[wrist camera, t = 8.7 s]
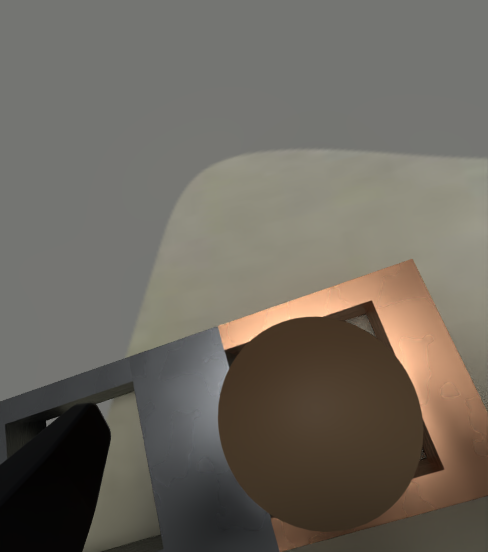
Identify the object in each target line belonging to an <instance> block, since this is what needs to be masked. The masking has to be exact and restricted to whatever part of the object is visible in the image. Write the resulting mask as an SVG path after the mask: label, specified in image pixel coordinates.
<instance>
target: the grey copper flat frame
mask: <svg viewBox="0 0 488 552" xmlns="http://www.w3.org/2000/svg"><path fill="white" fill-rule="evenodd" d="M363 314H367V316H368V318H369V321H370V323H371V325H372V328H373V330H374V333H375V335H376V337H377V339H378V340H380V341H381V342H382V343H383V344H384V345H385V346H386V347H387V348H389V349H390V350H391V352H392V353H393V354H394V355H395V356H396V357H397V358H398V360H399V361H400V362H401V364H402V365H403V367H404V368H405V370H406V371H407V373H408V375H409V377H410V379H411V381H412V383H413V385H414V387H415V390H416V393H417V396H418V398H419V403H420V407H421V411H422V419H423V445H422V447H423V449H424V452H425V454H426V456H427V458H426V459H422V460H419V463H418V466H417V469H416V472H415V474H414V476H413V478H412V480H411V482H410V484H409V486H408V487H407V489H406V490H405V492H404V493H403V495H402V496H401V497H400V499H399V500H398V501H397V502H396V503H395V504H394V505H393V506H392V507H391V508H390V509H389V510H387V511H386V512H385V513H383V514H382V515H381V516H379V517H378V518H376V519H374V520H372V521H370V522H369V523H367V524H364V525H361V526H359V527H356V528H353V529H348V530H343V531H334V532H320V531H311V530H306V529H302V528H299V527H295V526H293V525H290V524H288V523H285V522H283V521H281V520H279V519H277V518H276V517H274V516H272V515H271V514H269V513H268V512H266V511H265V510H264V509H262V508H261V507H260V506H259V505H257V504H256V503H255V502H254V501H253V500H252V499H251V498H250V497H249V496H248V495H247V494H246V492H245V491H244V490H243V488H242V487H241V486H240V485H239V483H238V482H237V480H236V478H235V477H234V475H233V473H232V472H231V470H230V467H229V465H228V463H227V461H226V459H225V456H224V452H223V449H222V446H221V441H220V436H219V430H218V404H219V398H220V392H221V389H222V385H223V382H224V379H225V377H226V374H227V372H228V370H229V368H230V366H231V364H232V363H233V361H234V359H235V358H236V356H237V355H238V354H239V353H240V351H241V350H242V349H243V348H244V347H245V346H246V345H247V344H248V343H249V342H250V341H251V340H252V339H253V338H254V337H256V336H257V335H258V334H259V333H261V332H262V331H264V330H266V329H268V328H269V327H271V326H273V325H276V324H278V323H280V322H283V321H287V320H290V319H294V318H301V317H327V318H333V319H337V320H341V321H345V320H348V319H351V318H354V317H357V316H360V315H363ZM133 391H135V395H136V401H137V406H138V412H139V417H140V423H141V428H142V433H143V439H144V444H145V450H146V455H147V461H148V466H149V471H150V477H151V482H152V488H153V493H154V499H155V504H156V509H157V515H158V520H159V526H160V531H161V535H158V536H154V537H151V538H147V539H144V540H140V541H137V542H133V543H130V544H127V545H123V546H120V547H116V548H113V549H109V550H106V551H102V552H283V551H286V550H290V549H294V548H297V547H301V546H305V545H308V544H312V543H316V542H319V541H323V540H327V539H330V538H334V537H338V536H341V535H345V534H349V533H352V532H356V531H360V530H364V529H367V528H371V527H375V526H378V525H382V524H386V523H389V522H393V521H397V520H400V519H404V518H408V517H411V516H415V515H419V514H422V513H426V512H430V511H434V510H437V509H441V508H445V507H448V506H452V505H456V504H459V503H463V502H467V501H470V500H474V499H478V498H481V497H485V496H488V412H487V410H486V408H485V406H484V404H483V402H482V400H481V398H480V396H479V394H478V392H477V390H476V388H475V386H474V384H473V382H472V379H471V377H470V375H469V373H468V371H467V369H466V367H465V365H464V363H463V361H462V359H461V357H460V355H459V353H458V351H457V349H456V347H455V345H454V343H453V341H452V339H451V337H450V335H449V332H448V330H447V328H446V326H445V324H444V322H443V320H442V318H441V316H440V314H439V312H438V310H437V308H436V306H435V304H434V302H433V300H432V298H431V296H430V294H429V292H428V290H427V288H426V285H425V283H424V281H423V279H422V277H421V275H420V273H419V271H418V269H417V267H416V265H415V263H414V261H413V259H410V260H408V261H405V262H402V263H399V264H396V265H393V266H390V267H387V268H385V269H382V270H379V271H376V272H373V273H370V274H367V275H364V276H361V277H359V278H356V279H353V280H350V281H347V282H344V283H341V284H338V285H335V286H333V287H330V288H327V289H324V290H321V291H318V292H315V293H312V294H309V295H307V296H304V297H301V298H298V299H295V300H292V301H289V302H286V303H283V304H281V305H278V306H275V307H272V308H269V309H266V310H263V311H260V312H257V313H255V314H252V315H249V316H246V317H243V318H240V319H237V320H234V321H231V322H229V323H226V324H223V325H220V326H217V327H214V328H211V329H208V330H205V331H203V332H200V333H197V334H194V335H191V336H188V337H185V338H182V339H179V340H177V341H174V342H171V343H168V344H165V345H162V346H159V347H156V348H154V349H151V350H148V351H145V352H142V353H139V354H136V355H133V356H130V357H128V358H125V359H122V360H119V361H116V362H113V363H110V364H107V365H104V366H102V367H99V368H96V369H93V370H90V371H88V372H84V373H81V374H79V375H76V376H73V377H70V378H67V379H64V380H61V381H58V382H55V383H53V384H50V385H47V386H44V387H41V388H38V389H35V390H32V391H29V392H27V393H24V394H21V395H18V396H15V397H12V398H9V399H6V400H3V401H0V464H2V463H3V462H4V461H5V460H6V459H8V458H9V457H10V456H11V455H13V454H14V453H15V452H16V451H18V450H19V449H20V448H21V447H23V446H24V445H25V444H26V443H27V442H29V441H30V440H31V439H32V438H34V437H35V436H36V435H37V434H39V433H40V432H41V431H42V430H44V429H45V428H46V420H50V419H52V418H56V417H59V416H61V415H62V414H63V413H65V412H66V411H67V410H68V409H69V408H71V407H72V406H74V405H76V404H81V403H88V402H92V403H95V404H97V403H100V402H103V401H106V400H109V399H112V398H115V397H118V396H121V395H124V394H127V393H130V392H133Z"/></svg>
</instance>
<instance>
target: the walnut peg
mask: <svg viewBox="0 0 488 552" xmlns="http://www.w3.org/2000/svg"><path fill="white" fill-rule="evenodd" d="M218 430H219V436H220V441H221V446H222V449H223V452H224V456H225V459H226V461H227V463H228V465H229V467H230V470H231V472H232V473H233V475H234V477H235V478H236V480H237V482H238V483H239V485H240V486H241V487H242V488H243V490H244V491H245V492H246V494H247V495H248V496H249V497H250V498H251V499H252V500H253V501H254V502H255V503H256V504H257V505H259V506H260V507H261V508H262V509H264V510H265V511H266V512H268V513H269V514H271V515H272V516H274V517H276V518H277V519H279V520H281V521H283V522H285V523H288V524H290V525H293V526H295V527H299V528H302V529H306V530H311V531H320V532H334V531H343V530H348V529H353V528H356V527H359V526H361V525H364V524H367V523H369V522H370V521H372V520H374V519H376V518H378V517H379V516H381V515H382V514H383V513H385V512H386V511H387V510H389V509H390V508H391V507H392V506H393V505H394V504H395V503H396V502H397V501H398V500H399V499H400V497H401V496H402V495H403V493H404V492H405V490H406V489H407V487H408V486H409V484H410V482H411V480H412V478H413V476H414V474H415V472H416V469H417V466H418V463H419V460H420V456H421V451H422V445H423V419H422V411H421V407H420V403H419V398H418V396H417V393H416V390H415V387H414V385H413V383H412V381H411V379H410V377H409V375H408V373H407V371H406V370H405V368H404V367H403V365H402V364H401V362H400V361H399V360H398V358H397V357H396V356H395V355H394V354H393V353H392V352H391V350H390V349H389V348H387V347H386V346H385V345H384V344H383V343H382V342H381V341H380V340H378V339H377V338H376V337H374V336H373V335H371V334H370V333H368V332H367V331H365V330H363V329H361V328H359V327H357V326H355V325H353V324H350V323H347V322H345V321H341V320H337V319H333V318H327V317H301V318H294V319H290V320H287V321H283V322H280V323H278V324H276V325H273V326H271V327H269V328H268V329H266V330H264V331H262V332H261V333H259V334H258V335H257V336H256V337H254V338H253V339H252V340H251V341H250V342H249V343H248V344H247V345H246V346H245V347H244V348H243V349H242V350H241V351H240V353H239V354H238V355H237V356H236V358H235V359H234V361H233V363H232V364H231V366H230V368H229V370H228V372H227V374H226V377H225V379H224V382H223V385H222V389H221V392H220V398H219V404H218Z"/></svg>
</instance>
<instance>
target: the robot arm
mask: <svg viewBox="0 0 488 552" xmlns="http://www.w3.org/2000/svg"><path fill="white" fill-rule="evenodd" d="M110 441H111V432H110V428H109V426H108V424H107V423H106V421H105V419H104V417H103V415H102V413H101V411H100V410H99V408H98V406H97V405H96V404H95V403H92V402H88V403H81V404H76V405H74V406H72V407H71V408H69V409H68V410H67V411H66V412H65V413H63V414H62V415H61V416H60V417H58V418H57V419H56V420H55V421H53V422H52V423H51V424H50V425H48V426H47V427H46V428H45V429H44V430H42V431H41V432H40V433H39V434H37V435H36V436H35V437H34V438H32V439H31V440H30V441H29V442H27V443H26V444H25V445H24V446H23V447H21V448H20V449H19V450H18V451H16V452H15V453H14V454H13V455H11V456H10V457H9V458H8V459H6V460H5V461H4V462H3V463H2V464H0V552H82V551H83V548H84V545H85V542H86V539H87V536H88V532H89V529H90V526H91V523H92V519H93V516H94V512H95V508H96V504H97V500H98V496H99V491H100V486H101V482H102V477H103V473H104V468H105V464H106V459H107V455H108V450H109V446H110Z"/></svg>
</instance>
